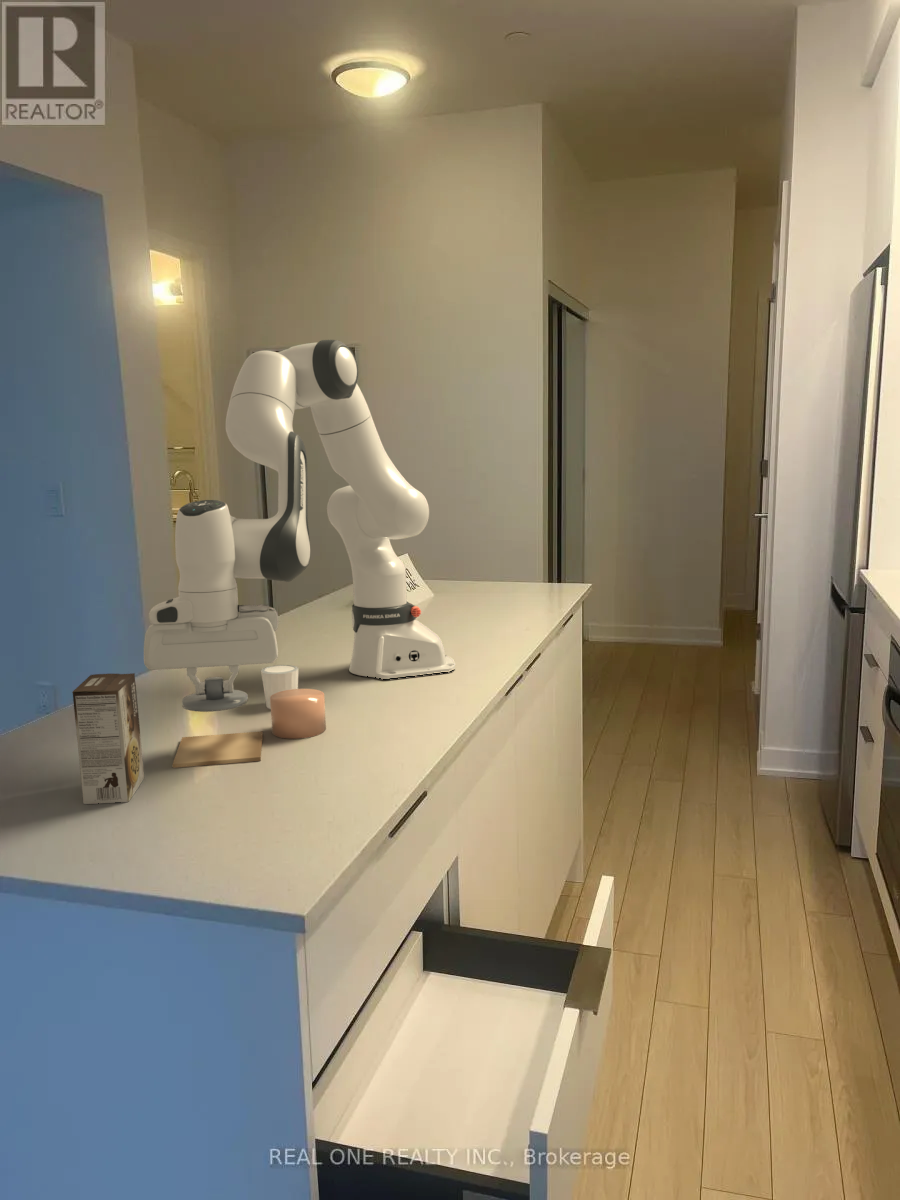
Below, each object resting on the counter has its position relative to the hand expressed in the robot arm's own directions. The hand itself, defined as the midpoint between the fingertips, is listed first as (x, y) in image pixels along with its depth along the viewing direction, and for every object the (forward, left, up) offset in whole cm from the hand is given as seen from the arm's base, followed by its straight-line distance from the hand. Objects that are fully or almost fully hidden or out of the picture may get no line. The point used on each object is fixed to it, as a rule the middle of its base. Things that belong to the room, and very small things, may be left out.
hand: (214, 693), depth 145 cm
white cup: (-10, -24, -10) cm, 27 cm away
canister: (-13, -8, -9) cm, 17 cm away
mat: (0, 0, -9) cm, 9 cm away
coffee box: (+13, +14, -10) cm, 22 cm away
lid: (0, 0, -2) cm, 2 cm away
